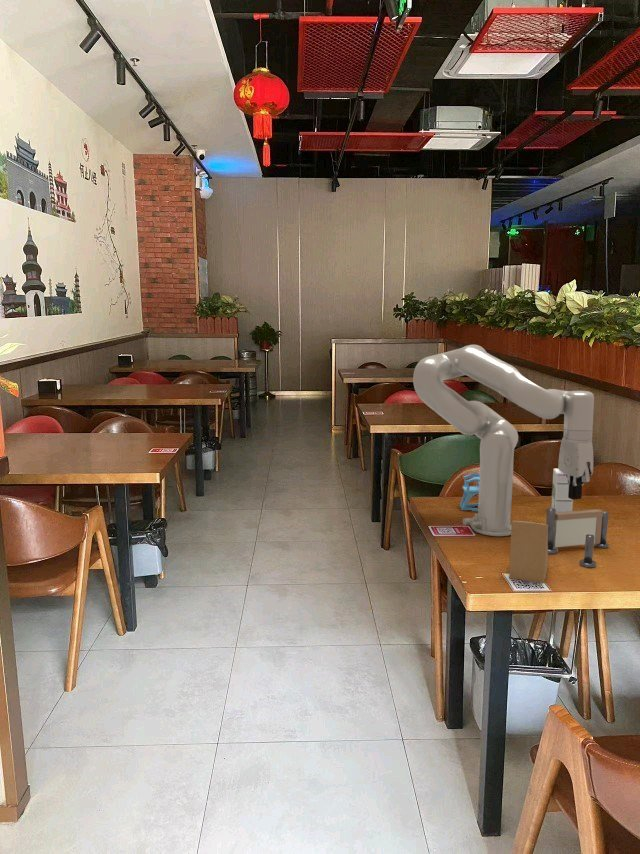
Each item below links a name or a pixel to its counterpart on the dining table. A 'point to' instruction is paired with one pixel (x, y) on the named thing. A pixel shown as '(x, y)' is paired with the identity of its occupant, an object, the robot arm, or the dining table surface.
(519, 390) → the robot arm
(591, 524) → the panel
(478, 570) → the dining table surface
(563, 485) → the syrup box
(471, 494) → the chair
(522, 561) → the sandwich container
